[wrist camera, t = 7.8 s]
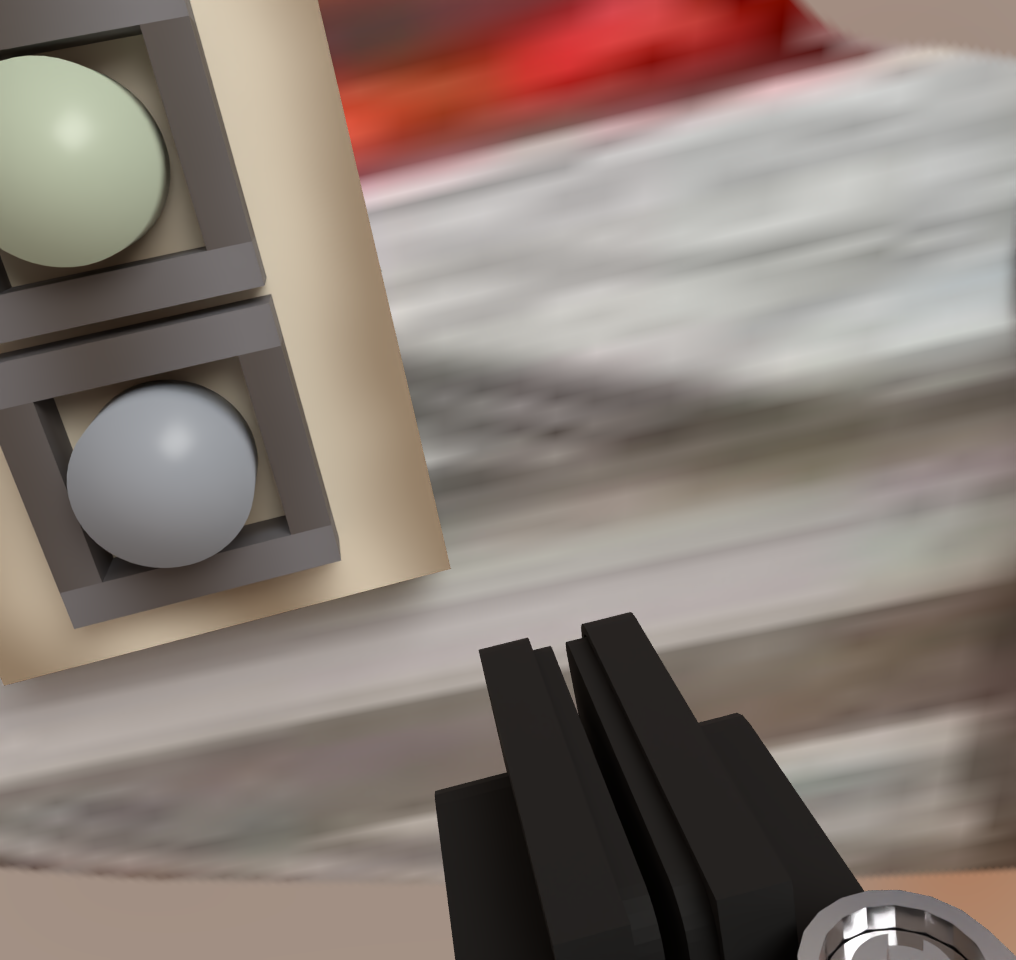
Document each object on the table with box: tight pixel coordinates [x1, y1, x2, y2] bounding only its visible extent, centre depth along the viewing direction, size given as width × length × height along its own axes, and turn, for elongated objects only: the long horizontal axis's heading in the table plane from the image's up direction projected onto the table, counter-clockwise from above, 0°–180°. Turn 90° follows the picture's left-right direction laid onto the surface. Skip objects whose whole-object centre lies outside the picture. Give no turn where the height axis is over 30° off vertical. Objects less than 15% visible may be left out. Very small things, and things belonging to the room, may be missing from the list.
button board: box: [0, 0, 451, 685], centre depth 22 cm, size 12×24×4 cm, turn 11°
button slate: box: [67, 379, 258, 568], centre depth 22 cm, size 4×4×2 cm
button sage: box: [0, 56, 170, 267], centre depth 20 cm, size 4×4×2 cm
